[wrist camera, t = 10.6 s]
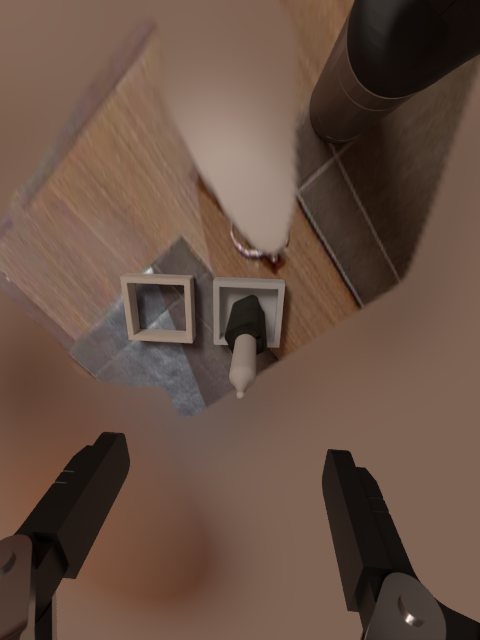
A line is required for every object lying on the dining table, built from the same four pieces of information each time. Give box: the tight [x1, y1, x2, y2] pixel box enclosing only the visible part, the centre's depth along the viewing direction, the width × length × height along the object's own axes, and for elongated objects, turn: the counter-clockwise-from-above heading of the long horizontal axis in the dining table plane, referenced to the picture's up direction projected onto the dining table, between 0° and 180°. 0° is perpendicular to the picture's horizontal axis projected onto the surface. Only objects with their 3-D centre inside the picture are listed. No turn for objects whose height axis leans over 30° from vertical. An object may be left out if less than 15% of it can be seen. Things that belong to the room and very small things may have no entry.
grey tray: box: [213, 277, 285, 348], centre depth 49 cm, size 12×12×3 cm
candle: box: [224, 295, 267, 399], centre depth 38 cm, size 5×5×25 cm
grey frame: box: [120, 273, 196, 343], centre depth 49 cm, size 12×12×3 cm
